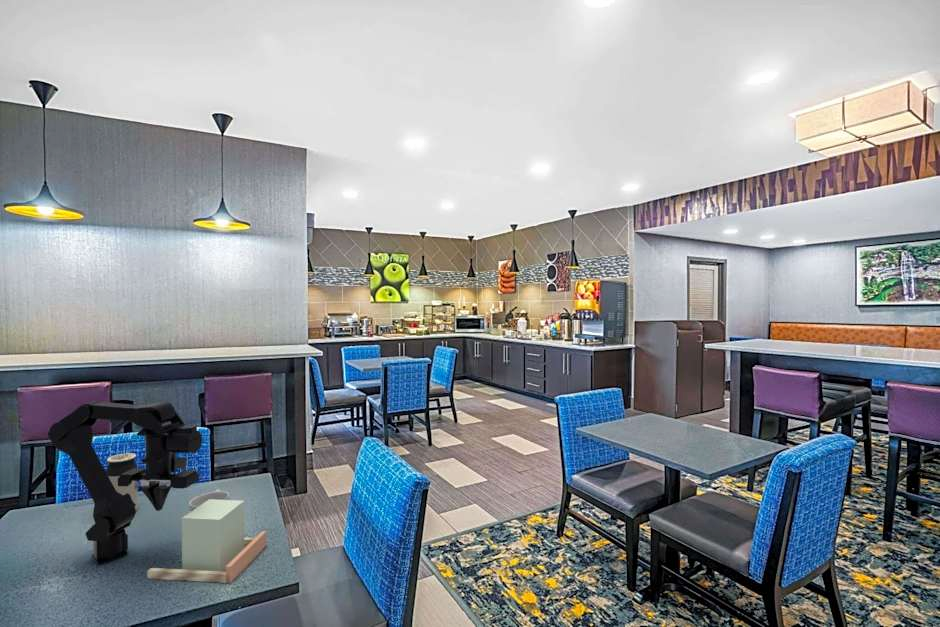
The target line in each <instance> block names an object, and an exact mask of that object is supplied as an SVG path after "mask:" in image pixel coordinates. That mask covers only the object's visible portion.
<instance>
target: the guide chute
mask: <svg viewBox="0 0 940 627" xmlns="http://www.w3.org/2000/svg"><path fill="white" fill-rule="evenodd" d="M244 541H245V548H244V549H243V550H242V551H241V552H240V553H239V554H238V555H237V556H236V557H235V558H234V559H233V560H232V561H231V562H230V563H229V564H228V565H227V566H226V570H225V571H224V572H223V571H203V570H183V569H182V568H181V569H179V568H161V567H151V568H149V569H148V570H147V579H148V578H149V580H165V581H166V580H167V581H183V580H187V581H188V582H206V583H207V582H208V583H223V584H224V583H225V584H226V583H228V584H231V583H233V581H234V580H235V579H236V578H237V577H238V576H239V575H240V574H241V573H242V571H243V570H245V568H246V567H247V566H249V564H250V563H251V562H252V561H253V560H254V559H255V558H256V557H257V556H258V555H259V554H260V553H261V552H262V551H263V550H264V549H265V548H266V547H267V531H265V530H262V531H260V533H259V534H258V535H257V536H256V537H245V536H244ZM187 581H186V582H187Z"/></svg>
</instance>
